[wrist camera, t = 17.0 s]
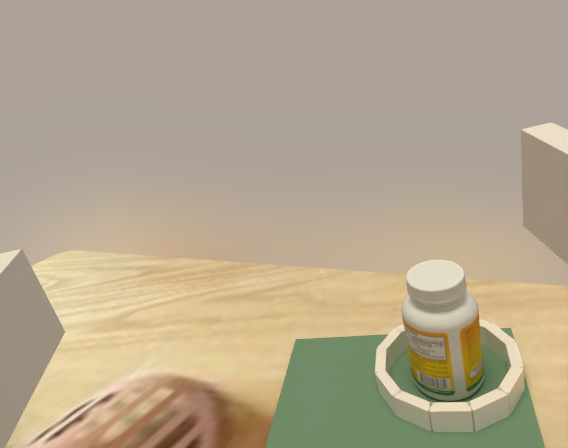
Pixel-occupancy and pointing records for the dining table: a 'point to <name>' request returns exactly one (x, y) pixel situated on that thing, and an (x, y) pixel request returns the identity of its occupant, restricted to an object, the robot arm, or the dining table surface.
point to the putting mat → (378, 402)
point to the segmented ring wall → (453, 413)
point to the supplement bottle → (442, 331)
